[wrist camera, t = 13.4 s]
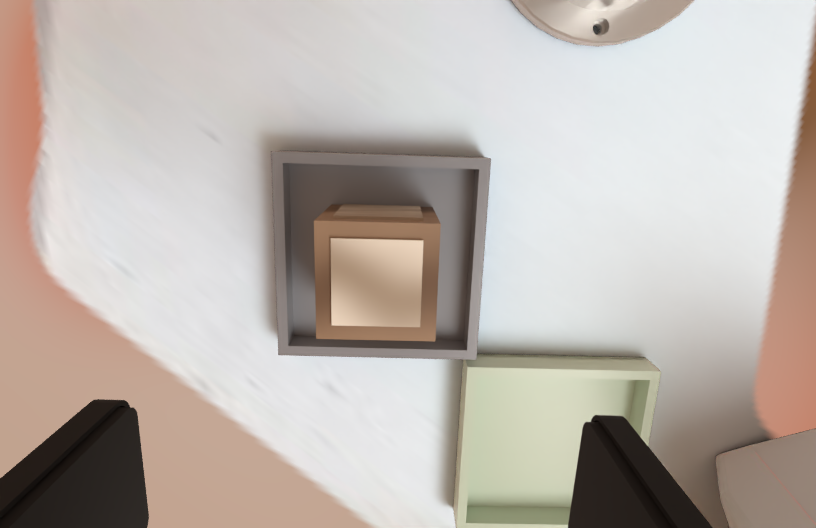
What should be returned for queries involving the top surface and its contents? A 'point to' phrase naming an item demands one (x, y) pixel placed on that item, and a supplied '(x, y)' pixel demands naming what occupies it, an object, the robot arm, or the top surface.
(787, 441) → the electrical switch box
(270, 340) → the top surface
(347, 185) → the grey tray
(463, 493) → the green tray
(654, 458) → the robot arm
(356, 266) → the letter block
